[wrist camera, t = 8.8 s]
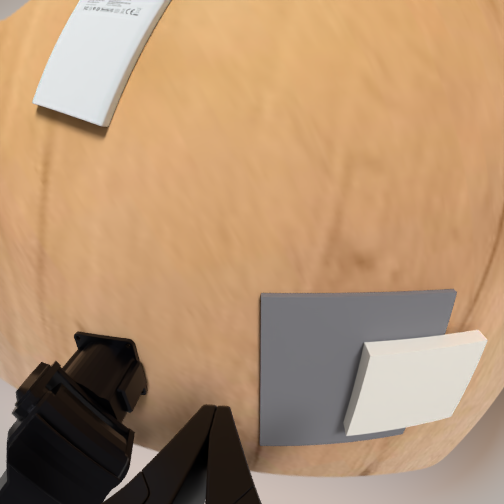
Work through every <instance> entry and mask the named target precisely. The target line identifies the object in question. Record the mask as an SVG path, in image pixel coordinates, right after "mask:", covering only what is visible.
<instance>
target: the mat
mask: <svg viewBox="0 0 504 504" xmlns="http://www.w3.org/2000/svg"><path fill="white" fill-rule="evenodd" d="M456 294H457V292H456V291H455V290H454V289H445V290H425V291H401V292H367V293H261V388H260V446H302V445H321V444H334V443H345V442H354V441H362V440H370V439H377V438H383V437H389V436H395V435H400V434H403V432H404V430H405V428H406V427H405V428H400V429H394V430H388V431H382V432H375V433H368V434H360V435H352V436H346V433H345V428H344V423H343V422H344V419H345V415H346V412H347V409H348V405H349V402H350V398H351V395H352V391H353V387H354V384H355V380H356V376H357V372H358V368H359V364H360V359H361V355H362V351H363V346H364V342H377V341H390V340H401V339H412V338H421V337H430V336H438V335H445V332H446V329H447V326H448V322H449V319H450V316H451V312H452V309H453V305H454V302H455V298H456Z"/></svg>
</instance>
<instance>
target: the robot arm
mask: <svg viewBox="0 0 504 504" xmlns="http://www.w3.org/2000/svg"><path fill="white" fill-rule="evenodd" d="M79 337H80V338H79ZM74 339H75V341H76V344H77V347H78V350H77V351H76V352H75V353H74V355H73V356H72V357H71V358H70V359H69V361H68V362H67V363H66V364H65V365H64V367H63V368H61V367H60V366H61V365H60V364H59V363H58V362H57V361H55V362H54V363H53V364H52V365H51V366H50V365H49V364H46V363H43V362H41V363H40V364H39V365H38V366H37V368H36V369H35V370H34V371H33V372H32V373H31V374H30V375H29V377H28V378H27V379H26V380H25V381H24V382H23V384H22V385H21V386H20V387H19V389H18V390H17V391H16V398H17V402H16V403H15V406H16V407H15V409H14V410H13V412H12V414H13V415H14V416H15V417H16V418H17V421H16V422H15V423H14V424H13V425H12V427H11V428H10V429H9V431H8V438H7V469H6V471H5V472H4V474H3V475H2V477H1V478H0V504H204V503H205V504H262V503H261V501H260V499H259V496H258V493H257V490H256V488H255V485H254V482H253V479H252V476H251V473H250V470H249V467H248V464H247V461H246V458H245V455H244V451H243V448H242V445H241V442H240V439H239V435H238V432H237V429H236V426H235V422H234V419H233V415H232V412H231V409H230V407H229V406H216V405H207V404H205V405H203V406H202V407H201V408H200V409H199V410H198V412H197V413H196V414H195V415H194V416H193V417H192V418H191V419H190V420H189V421H188V422H187V424H186V425H185V426H184V427H183V428H182V429H181V430H180V431H179V432H178V433H177V434H176V435H175V436H174V437H173V439H172V440H171V441H170V442H169V443H168V444H167V445H166V446H165V447H164V448H163V449H162V450H161V451H160V452H159V453H158V454H157V456H155V457H154V458H153V459H152V461H150V463H148V464H147V465H146V466H145V467H144V468H143V469H142V472H139V473H138V474H137V475H136V476H135V477H134V478H133V479H132V480H131V481H130V482H129V483H128V484H127V485H125V487H123V488H122V489H121V490H119V491H118V492H117V493H115V494H114V495H113V496H111V497H110V498H109V499H107V500H106V501H104V499H105V498H106V496H107V495H108V494H109V492H110V491H111V490H112V489H113V488H115V487H116V486H118V485H119V484H120V483H121V482H122V480H123V479H124V478H125V476H126V474H127V472H128V470H129V467H130V461H131V454H132V447H133V440H134V434H135V432H134V431H132V430H131V429H130V428H129V429H128V428H127V427H126V426H124V425H123V424H122V421H123V419H124V417H125V415H126V413H127V412H129V413H131V412H132V411H133V409H134V407H135V405H136V403H137V401H138V399H139V397H140V395H145V394H146V393H147V387H146V379H145V376H144V372H143V369H142V365H141V363H140V361H139V358H138V355H137V351H136V347H135V344H134V342H133V341H132V340H131V339H126V338H118V337H111V336H104V335H97V334H91V333H84V332H76V333H75V334H74ZM128 344H129V345H130V346H129V345H128ZM205 499H206V501H205ZM103 501H104V502H103Z"/></svg>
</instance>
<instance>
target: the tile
mask: <svg viewBox="0 0 504 504" xmlns="http://www.w3.org/2000/svg"><path fill="white" fill-rule="evenodd" d="M486 343H487V339H486V338H485V337H484V335H483V334H482V333H481V332H480V331H479V330H473V331H467V332H460V333H453V334H446V335H438V336H430V337H421V338H412V339H401V340H390V341H377V342H364V346H363V351H362V355H361V359H360V364H359V368H358V372H357V376H356V380H355V384H354V387H353V391H352V395H351V398H350V402H349V405H348V409H347V412H346V415H345V419H344V422H343V423H344V428H345V433H346V436H352V435H360V434H368V433H375V432H382V431H388V430H394V429H400V428H405V427H410V426H415V425H419V424H424V423H428V422H433V421H437V420H441V419H444V418H448V417H451V416H452V414H453V412H454V410H455V408H456V407H457V405H458V403H459V401H460V399H461V397H462V395H463V394H464V392H465V390H466V388H467V386H468V384H469V382H470V379H471V377H472V375H473V373H474V371H475V369H476V367H477V364H478V362H479V360H480V357H481V355H482V353H483V350H484V348H485V345H486Z"/></svg>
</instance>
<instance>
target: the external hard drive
mask: <svg viewBox="0 0 504 504" xmlns="http://www.w3.org/2000/svg"><path fill="white" fill-rule="evenodd" d="M170 1H171V0H80V1H79V2H78V4H77V6H76V7H75V9H74V11H73V13H72V14H71V16H70V18H69V20H68V22H67V23H66V25H65V27H64V29H63V31H62V33H61V35H60V37H59V39H58V41H57V43H56V45H55V47H54V49H53V51H52V54H51V56H50V58H49V60H48V62H47V65H46V67H45V70H44V72H43V75H42V77H41V80H40V82H39V85H38V88H37V90H36V93H35V96H34V99H33V102H32V103H33V104H36V105H40V106H43V107H46V108H49V109H52V110H55V111H58V112H61V113H64V114H67V115H70V116H73V117H76V118H78V119H82V120H84V121H87V122H90V123H93V124H96V125H99V126H104V127H109V125H110V122H111V119H112V116H113V114H114V111H115V109H116V107H117V104H118V102H119V99H120V97H121V94H122V92H123V90H124V88H125V85H126V83H127V81H128V79H129V76H130V74H131V72H132V70H133V68H134V66H135V64H136V62H137V60H138V58H139V56H140V54H141V52H142V50H143V48H144V46H145V44H146V43H147V41H148V39H149V37H150V35H151V33H152V31H153V30H154V28H155V26H156V24H157V23H158V21H159V19H160V18H161V16H162V14H163V13H164V11H165V9H166V8H167V6H168V5H169V3H170Z"/></svg>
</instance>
